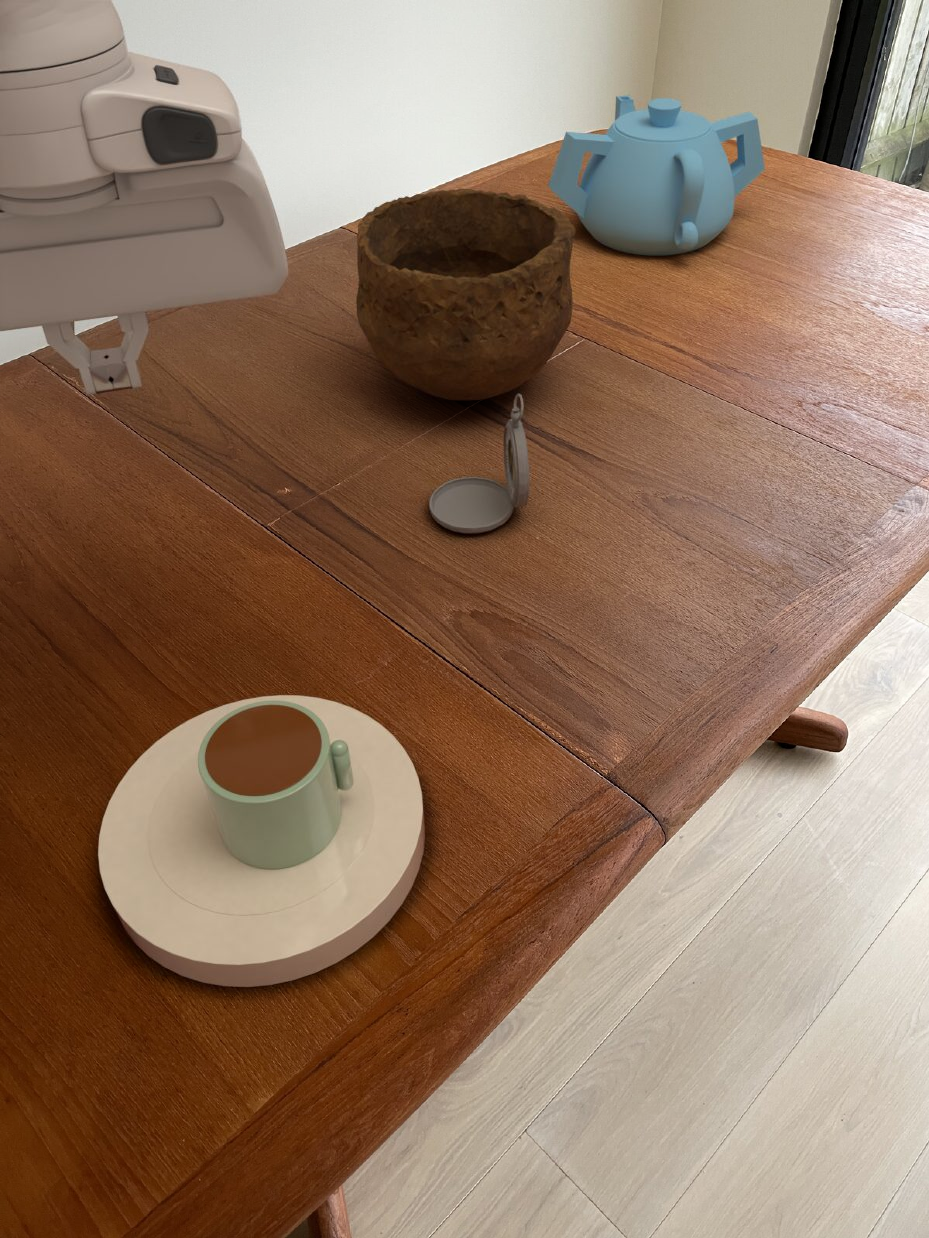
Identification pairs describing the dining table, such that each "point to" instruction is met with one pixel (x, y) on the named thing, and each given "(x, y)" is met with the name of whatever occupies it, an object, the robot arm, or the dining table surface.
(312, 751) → the teacup
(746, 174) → the teapot
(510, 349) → the bowl
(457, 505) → the pocket watch
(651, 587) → the dining table surface
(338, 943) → the plate
